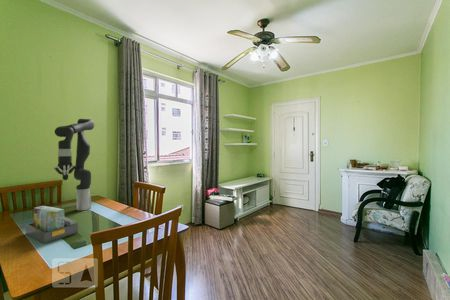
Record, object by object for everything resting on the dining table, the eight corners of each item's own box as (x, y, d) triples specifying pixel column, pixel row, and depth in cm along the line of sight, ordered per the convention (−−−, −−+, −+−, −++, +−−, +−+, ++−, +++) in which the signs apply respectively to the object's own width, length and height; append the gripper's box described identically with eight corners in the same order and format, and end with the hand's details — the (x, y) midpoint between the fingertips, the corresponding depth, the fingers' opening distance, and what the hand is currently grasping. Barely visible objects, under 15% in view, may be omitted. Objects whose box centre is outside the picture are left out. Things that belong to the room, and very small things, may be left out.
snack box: (65, 233, 124) (65, 208, 124) (55, 237, 119) (54, 211, 119) (43, 228, 132) (43, 205, 131) (32, 232, 127) (32, 207, 126)
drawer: (58, 224, 140) (58, 213, 140) (78, 233, 127) (78, 220, 127) (26, 233, 126) (25, 221, 126) (44, 244, 113) (44, 230, 113)
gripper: (72, 154, 153) (73, 178, 154) (51, 155, 142) (51, 181, 142) (78, 155, 149) (78, 179, 150) (56, 156, 138) (56, 182, 138)
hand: (65, 180), depth 146 cm, fingers closed
